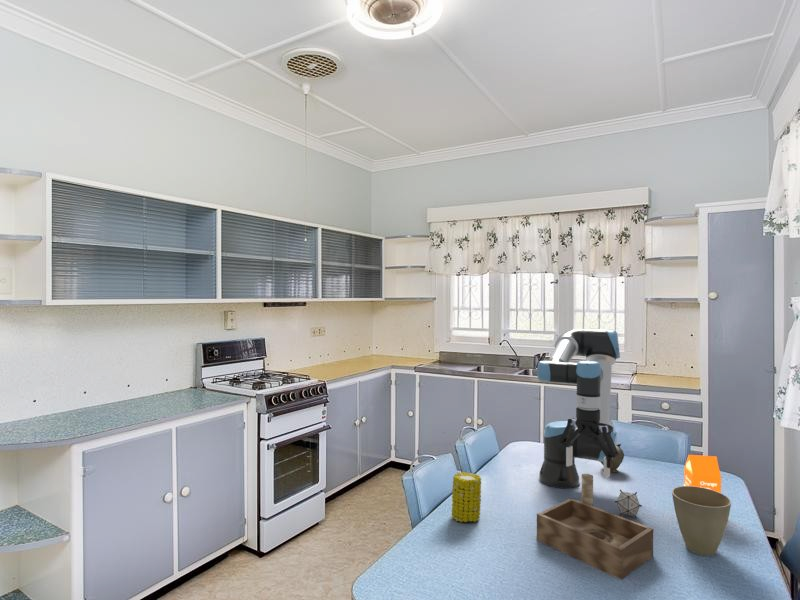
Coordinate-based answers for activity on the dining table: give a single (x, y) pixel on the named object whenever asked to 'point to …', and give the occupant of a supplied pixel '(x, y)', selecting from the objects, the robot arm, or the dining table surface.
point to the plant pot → (701, 517)
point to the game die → (628, 503)
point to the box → (596, 537)
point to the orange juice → (702, 472)
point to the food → (466, 497)
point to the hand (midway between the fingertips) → (587, 471)
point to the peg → (587, 489)
